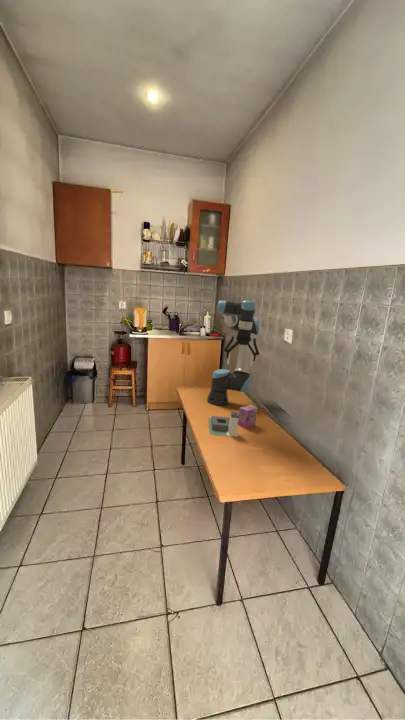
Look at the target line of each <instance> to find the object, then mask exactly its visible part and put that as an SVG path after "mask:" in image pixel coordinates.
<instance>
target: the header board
mask: <svg viewBox="0 0 405 720" xmlns="http://www.w3.org/2000/svg"><path fill="white" fill-rule="evenodd" d="M229 421H230V417H225V416H218V415H217V416H216V415H211V417H208V426H209V427H208V428H209V429H208V430H209V435H211V436H222V437H232V438H239V437H240V436H239V433H238V430H237V431H236V435H229V434H228V428H229Z"/></svg>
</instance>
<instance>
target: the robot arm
mask: <svg viewBox="0 0 405 720" xmlns="http://www.w3.org/2000/svg"><path fill="white" fill-rule="evenodd" d="M216 311H217V313H218V314H222V315H223V318H224V319H223V321H224V325H225V326H226V327H227V328H229V329H230V330H232V331H235V332H237V335H236V336H234V335H231V337H230V340H229V342H227V344H226V345H225V347H224V348H223V351H224V352H226V355H225V357H226V359H227V360H226V361H227V362H226V364H227V365H229V364H230V358H231V352H232V351H233V350H234V349H235V348H236V347H237V346H239V350H238V356H237V361H236V368H235V369H234V370H233V371H232V373H231V371H230V370H229V369H225V368H221V369H220V368H219V369H216V370H214V371H213V373H212V376H211V377H212V378H211V385H210V386H211V387H210V391H209V393H208V395H207V397H206V401H207V402H208V403H209V404H211V405H214V406H226V405H228V404H229V395H228V391H235V392H239V393H247V392H248V391H249V387H250V384H251V381H252V379H253V378H252V376H251V373H250V372H249V369H250V368H249V367H251V368H252V367H253V363H254V362H255V361H256V356H259V355H260V352H259V348H258V346H257V343H256V341H257V339H256V338H257V335H259V334H260V319H259V318H258V317H254V315H255V314H256V302H255V301H253V300H243V301H242V302H236V301H228V300H219V301H218V302H217V309H216ZM235 340H236V341H235ZM234 341H235V342H234ZM233 342H234V343H233ZM253 347H254V348H253ZM254 350H255V351H254Z"/></svg>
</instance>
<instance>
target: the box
mask: <svg viewBox="0 0 405 720" xmlns="http://www.w3.org/2000/svg"><path fill="white" fill-rule="evenodd" d="M258 409H259V408H258V407H257V406H255V405H253V404H248V405H244V406H241V407H239V412H238V414H239V418H238V425H237V426H240V427H241V428H243V429H246V428H248V427H249V428H250V427H252V426H253V427H254V426H256V419H257V416H258V415H257V414H258Z"/></svg>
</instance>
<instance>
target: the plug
mask: <svg viewBox="0 0 405 720" xmlns="http://www.w3.org/2000/svg"><path fill="white" fill-rule="evenodd" d="M229 418H230V421H229V428H228V434H229V435H236V431H237V432H238V426H239V425H238V418H239V412H237V411H230V416H229Z"/></svg>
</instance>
